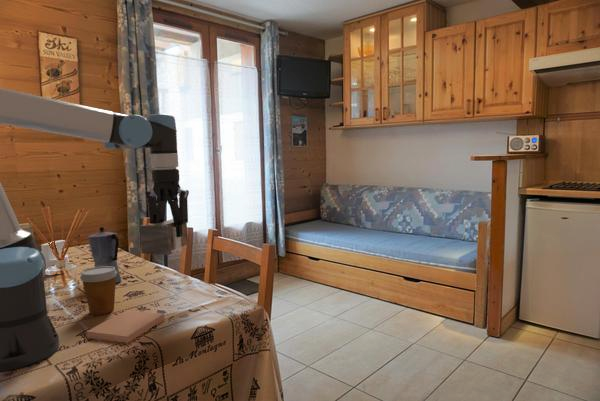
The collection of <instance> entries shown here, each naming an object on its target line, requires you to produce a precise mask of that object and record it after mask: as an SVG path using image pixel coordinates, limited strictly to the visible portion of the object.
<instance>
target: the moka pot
mask: <svg viewBox="0 0 600 401" xmlns="http://www.w3.org/2000/svg"><path fill="white" fill-rule="evenodd" d="M98 229H99V232H96V233H93V234H90V235H88V236H87V240H88V244H89V248H90V252H91V256H92V258H93V263H94V267H101V266H112V267H115V269H116V271H117V275H116V282H115V285H117V283H120V282H121V281H122V278H121V277H122V276H121V274H120V270H119V265H118V262H117V261H118V252H119V247H120V246H119V243H120V242H119V241H120V240H119V237H118V233H116V232H110V231H105V227H103V226H100V227H99V228H98ZM94 267H93V268H94Z"/></svg>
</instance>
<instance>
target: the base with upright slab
mask: <svg viewBox="0 0 600 401" xmlns="http://www.w3.org/2000/svg"><path fill="white" fill-rule="evenodd" d="M54 241H55V245H56V248H57V250H58V252H59V254H61V252H62V248H63V246H64V243H65V241H66V242H67V240H65V239H64V240H63V239H59V240H54ZM52 242H53V241H51V242H47V243H43V244H42V243H41V245H40V247H41V252H42V254H43V255H44V258H45V261H46V269H47V268H48V267H50V266H52V265H54V264H56V262H57V259H56V257H55V255H54V254H53V252H52V249H51V248H50V246H49V244H48V243H50V244H51V243H52ZM69 258H70V257H69V255H68V253H66V255H65V258H64V260H65V262H67V263H69V264H70V260H69ZM46 269H45V270H46ZM44 276H45V273H44Z"/></svg>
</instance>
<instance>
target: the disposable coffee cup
mask: <svg viewBox="0 0 600 401" xmlns="http://www.w3.org/2000/svg"><path fill="white" fill-rule="evenodd" d="M116 275H117V271H116V269H115V267H112V266H101V267H91V268H88V269H84V270H82V272H81V274H80V277H79V279H80V280H81V282H82V285H83V286H82V287H83V289H84V294H85V298H86V302H87V306H88V310H89V314H90V315H93V316H95V315H96V316H100V315H104V314H108V313H111V312H112V311H114V310H115V299H116V297H115V296H116V284H115V282H116Z"/></svg>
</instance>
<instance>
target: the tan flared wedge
mask: <svg viewBox="0 0 600 401" xmlns="http://www.w3.org/2000/svg"><path fill="white" fill-rule="evenodd" d="M173 225H174V221H173V218H172V219H168V220H164V222H160V223H156V224H140V225H139V233H140V248H141V254H145V255H161V256H169V255H172V251H174V250H175V249H174V245H173V230H172V227H174V226H173ZM182 233H183V235H182V236H181V247H185V246H187V245H188V244H189V241H188V239H189V238H188V223H186V224H183V225H182ZM181 247H180V248H181Z"/></svg>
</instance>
